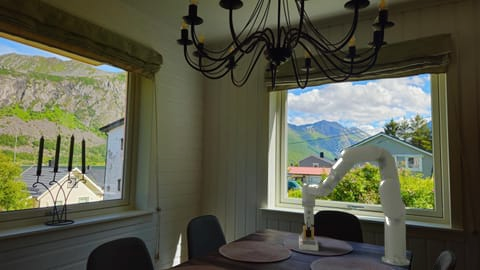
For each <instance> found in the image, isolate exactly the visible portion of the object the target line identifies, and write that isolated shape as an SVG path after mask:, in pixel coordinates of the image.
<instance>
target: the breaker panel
mask: <svg viewBox="0 0 480 270" xmlns="http://www.w3.org/2000/svg"><path fill="white" fill-rule="evenodd" d="M298 244H299V246H298V247H299V250H303V251H313V252H318V251H319V243H318V240H317V238H316V236H314V238H310V241H308V240H306V238H303V232H301V234H300V235H298Z"/></svg>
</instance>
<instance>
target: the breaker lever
mask: <svg viewBox="0 0 480 270" xmlns="http://www.w3.org/2000/svg"><path fill="white" fill-rule="evenodd" d="M302 233H303V238H306V240H308V241H310V238H314V237H315V227H314V226H311V237H306V225H303V226H302Z"/></svg>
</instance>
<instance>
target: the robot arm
mask: <svg viewBox="0 0 480 270" xmlns="http://www.w3.org/2000/svg"><path fill="white" fill-rule="evenodd" d="M370 162H372V163H373V162H374V163H377V165H378V173H379V177H380V181H379V183H378V194H379V198H380V204H381V210H382V211H381V212H382V214H383V215H384V256H382V257H381V261H382V262H384V263H385V264H388V265H393V266H398V267H399V266H401V267H404V266H409V265H411V264H410V263H411V261H410V260H409V259H407V247H406V246H407V240H406V239H407V238H406V236H407V235H406V233H407V232H406V214H407V212H406V204H405V203H404V202H403V199H402V192H401V188H402V185H401V182H400V177H399V172H398V168H397V163H396V160H395V157H394V155H392V153H391V151H389V150H387V149H386V148H383V147H381V146H378V145H376V144H368V145H360V146H359V145H358V146H350V147H349V146H348V147H346V148H344V149H342V151H341V153H340V157H339V158H338V159H337V160H336V161H335V162H334V163H333V164H332V166H331V168H330V171H329V174H328V175H327V177H326V178H324V180H322V182H320V183H319V182H318V183H315V182H314V183H313V182H302V184H301V188H302V189H301V191H302V192H301V207H302V208H303V217H304V218H303V219H304V224H305V226H306V237H311V227H312V226H314V225H315V219H314V218H315V217H314V216H315V212H314V208H316V197H319V198H322V197H325V196H329V195H330V194H331V193H332V192H333V191H334V190H335V189H336V187H338V185H339V184H340V182H342V180H343V179H344V178H345V177H346V175H347V174H348V173H349V172H350V171H351V170H352V168H354V166H355V165H356V164H357V163H358V164H359V163H370Z"/></svg>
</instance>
